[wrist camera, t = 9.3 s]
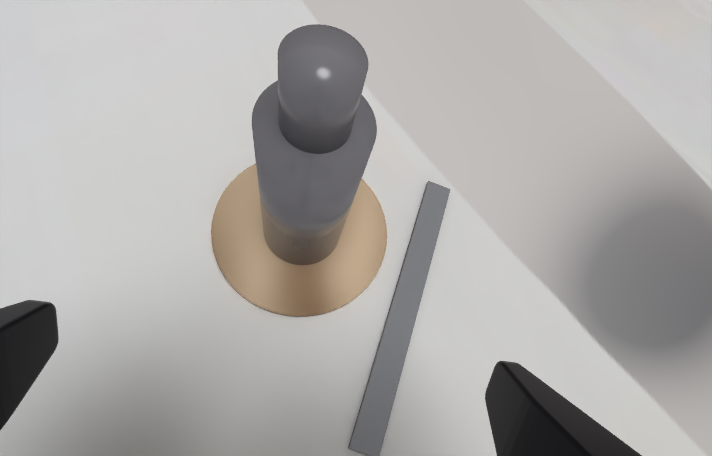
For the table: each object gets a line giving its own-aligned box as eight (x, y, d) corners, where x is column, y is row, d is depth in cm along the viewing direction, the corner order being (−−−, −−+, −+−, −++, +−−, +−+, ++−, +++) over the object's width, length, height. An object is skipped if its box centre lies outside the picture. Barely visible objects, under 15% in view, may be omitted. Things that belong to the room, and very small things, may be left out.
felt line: (377, 458, 20) (378, 459, 20) (348, 447, 20) (349, 448, 20) (448, 191, 27) (450, 189, 26) (427, 183, 27) (428, 181, 26)
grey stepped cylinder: (300, 281, 22) (321, 150, 11) (246, 225, 23) (211, 44, 11) (355, 231, 24) (427, 70, 12) (304, 181, 25) (325, -17, 13)
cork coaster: (240, 343, 21) (239, 343, 21) (193, 179, 24) (191, 175, 24) (411, 282, 24) (413, 280, 24) (350, 142, 27) (351, 138, 27)
